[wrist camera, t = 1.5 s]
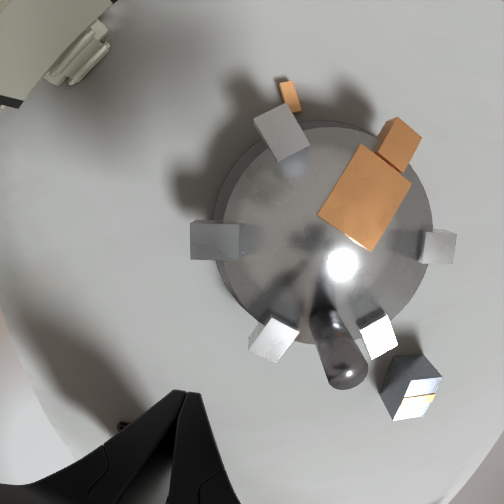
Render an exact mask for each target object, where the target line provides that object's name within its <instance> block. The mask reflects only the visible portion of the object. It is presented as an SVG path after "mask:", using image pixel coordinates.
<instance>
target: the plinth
mask: <svg viewBox="0 0 504 504" xmlns="http://www.w3.org/2000/svg"><path fill="white" fill-rule="evenodd" d="M279 88H280V91H281V94H282V98H283V101H284V103H287V105H288V107H289V108H290V110H291V112H292V113H293V114H295V113H300V112H301V111H302V109H301V106H300V103H299V99H298V96H297V93H296V90H295V87H294V84H293V81H288V82H282V83H280V84H279ZM298 124H299V125H300V127H301V129H302V131H304V130H309V129H314V128H320V127H340V128H348V129H353V130H357V131H361V132H364V133H367V134H369V135H371V136H374V135H372V134H370V133H369V132H367V131H365V130H362V129H360V128H357V127H355V126H352V125H348V124H344V123H340V122H333V121H308V122H302V123H298ZM374 137H375V136H374ZM376 138H377V137H376ZM266 149H267V148H266V146H265V144H264V142H263V141H262V139H261V140H259V141H258V142H256V143H255V144H254V145H253V146H252V147H250V148H249V149H248V150H247V151H246V152H245V153H244V154H243V155H242V156H241V157H240V159H239V160H238V161H237V162H236V163H235V165H234V166H233V167H232V169H231V170H230V172H229V174H228V175H227V177H226V179H225V180H224V183H223V185H222V187H221V190H220V192H219V194H218V198H217V201H216V205H215V208H214V214H213V220H223V219H224V214H225V211H226V207H227V204H228V201H229V198H230V196H231V194H232V192H233V189H234V187H235V185H236V184H237V182H238V181H239V179H240V177H241V176H242V174H243V173H244V171H245V170H246V169H247V168H248V167H249V165H250V164H251V163H252V162H253V161H254V160H255V159H256V158H257V157H258V156H259V155H260V154H261V153H262V152H264V151H265V150H266ZM216 263H217V266H218V269H219V272H220V274H221V276H222V279H223V281H224V283H225V285H226V286H227V288H228V290H229V291H230V293H231V294H232V296H233V297H234V298H235V299H236V301H237V302H238V303H239V304H240V305H241V306H242V307H243V308H244V309H245V310H246V308H245V307H244V306H243V305H242V303H241V302H240V300H239V299H238V297H237V296H236V294H235V292H234V291H233V288H232V286H231V284H230V281H229V279H228V277H227V273H226V270H225V266H224V262H223V260H216ZM246 311H247V310H246ZM247 312H248V311H247ZM248 313H249V312H248ZM249 314H250V313H249ZM250 315H251V314H250Z"/></svg>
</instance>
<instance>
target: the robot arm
mask: <svg viewBox="0 0 504 504" xmlns="http://www.w3.org/2000/svg"><path fill="white" fill-rule="evenodd" d="M117 428H118V432H119V433H117V434H116V435H115V436H113V437H112V438H111V439H109V440H108V441H106V442H105V443H104V444H103V445H104V446H103V445H101V446H99V447H98V448H97V449H95V450H94V451H92V452H91V453H89V454H88V455H86V456H85V457H83V458H82V459H80V460H78V461H77V462H75V463H73V464H71V465H69V466H68V467H66V468H64V469H62V470H60V471H58V472H56V473H54V474H52V475H49V476H47V477H45V478H43V479H41V480H39V481H36V482H34V483H30V484H26V485H8V484H0V504H241V503H240V501H239V500H238V498H237V496H236V494H235V492H234V490H233V488H232V485H231V483H230V481H229V478H228V475H227V473H226V470H225V468H224V465H223V462H222V459H221V456H220V453H219V450H218V447H217V444H216V442H215V438H214V435H213V432H212V429H211V426H210V423H209V420H208V417H207V413H206V410H205V407H204V403H203V400H202V397H201V394H200V393H196V392H186V391H182V390H172V391H171V392H170V393H169V394H167V395H166V396H165V397H164V398H162V399H161V400H160V401H159V402H157V403H156V404H155V405H154V406H152V407H151V408H150V409H149V410H147V411H146V412H145V413H143V414H142V415H141V416H140V417H138V418H137V419H136V420H134V421H133V422H132V423H130V424H127V423H123V422H119V424H118V425H117Z"/></svg>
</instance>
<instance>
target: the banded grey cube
mask: <svg viewBox="0 0 504 504" xmlns="http://www.w3.org/2000/svg"><path fill="white" fill-rule="evenodd" d="M441 379H442V376H441V375H440V373H439V372H438V371H437V370H436V369H435V368H434V366H433V365H432V364H431V363H430V362H429V360H428V359H427V358H426V357H425V356H424V355H408V356H394V357H393V360H392V363H391V366H390V369H389V371H388V374H387V377H386V380H385V382H384V385H383V387H382V390H381V392H380V397H381V399H382V400H383V402H384V404H385V406H386V408H387V410H388V412H389V414H390V416H391V418H392V420H393V421H394V420H401V419H407V418H414V417H419V416H423V415H424V414H425V412H426V410H427V408H428V406H429V404H430V402H432V400H433V398H434V396H435V392H436V390H437V388H438V386H439V383H440V381H441Z"/></svg>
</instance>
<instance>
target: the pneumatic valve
mask: <svg viewBox="0 0 504 504" xmlns="http://www.w3.org/2000/svg"><path fill="white" fill-rule="evenodd" d="M116 1H117V0H0V108H1V109H6V107H7V106H9V107H13V108H19V107H20V106H21V104H22V103H23V101H24V100H25V99H26V97H27V96H28V94H29V93H30V92H31V90H32V89H33V88H34V86H35V85H36V84H37V82H38V81H39V80H40V79H41V77H42V76H43V77H44V78H45V79H46V80H47V81H48V82H50V83H52V84H53V85H56V86H58V85H60V84H61V83H62V82H63V81H64V80H65V79H66V77H69V78H70V79H69V80H68V81H69V82H68V84H69V85H74V84H75V83H77V82H78V83H79V82H80V81H81V80H82V79H83V78H84V76H85V75H86V74H87V73H88V72H89V71H90V70H91V69H92V68H93V67H94V66H95V65H96V64H97V63H98V62H99V61H100V60H101V59H102V58H103V57H104V56H105V55H106V54H107V53H108V52H109V51H110V50H109V48H110V47H111V45H110V44H109V43H108V42H107V41H106V42H104V43H103V44H102V43H101V41H102V40H103V39H104V38H105V37H106V36H107V35H108V34H109V33H110V32H111V31H110V30H109V29H108V28H107V27H106V26H105V25H104V24H103V23H102V22H101V21H100V20H99V19H98V17H99V16H100V15H101V14H102V13H103V12H104V11H106V10H107V9H108V8H109V7H110V6H111V5H113V4H114V3H115V2H116Z"/></svg>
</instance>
